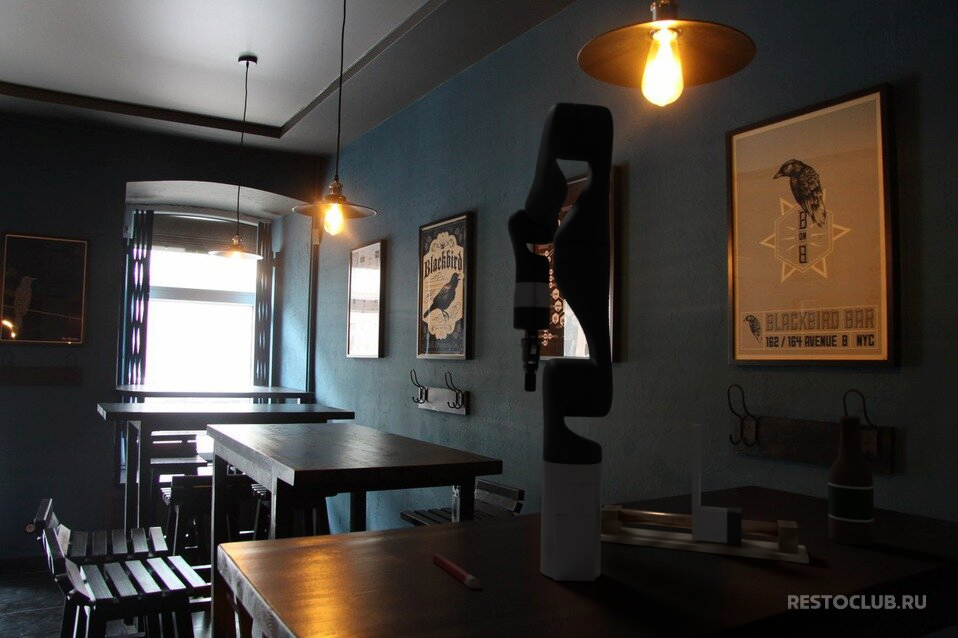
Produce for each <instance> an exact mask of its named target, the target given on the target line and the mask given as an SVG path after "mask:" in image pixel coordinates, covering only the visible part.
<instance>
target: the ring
mask: <svg viewBox="0 0 958 638" xmlns="http://www.w3.org/2000/svg"><path fill="white" fill-rule="evenodd" d="M726 508H727V544H729V545H738V546H742V535H743V534H742V520H743V519H742V517H743V516H742V515H743V513H742V507H735V506H733V507H732V506H727V507H726Z"/></svg>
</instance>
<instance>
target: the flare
mask: <svg viewBox="0 0 958 638" xmlns="http://www.w3.org/2000/svg"><path fill="white" fill-rule="evenodd" d="M432 562H433V563H434V564H435V565H438V566H439V567H440V568H441V569H443V570H444V571H446V572H447V573H448V574H450V575H451V576H453V577H454V578H455V579H457V580H459V581H460V582H461V583H462V584H464V585H465V586H466V587H468V589H471V590H476V589H481V586H482V582H481V580H479V579H478V578H477V577H475V576H474V575H471V573H469V572H467V571H466V570H464V569H463V568H461V567H460V566H459V565H457V564H455V563H454V562H452V561H451V560H449V558H447V557H446V556H443V554H441V553H440V552H439V553H438V552H437V553H435V554H434V555H433V556H432Z"/></svg>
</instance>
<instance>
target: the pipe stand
mask: <svg viewBox="0 0 958 638" xmlns="http://www.w3.org/2000/svg"><path fill="white" fill-rule="evenodd" d="M622 507H623V505H617V504H605V505H604V506H603V507H601V542H605V543H607V542H608V543H615V544H623V545H624V544H625V545H635V546H643V547H644V546H645V547H654V548H661V549H662V548H664V549H672V550H679V551H691V552H699V553H707V554H708V553H709V554H716V555H718V554H719V555H727V556H728V555H729V556H734V557H744V558H746V557H747V558H755V559H763V560H773V561H782V562H791V563H793V562H794V563H801V564H809V563H810V556H809V555H808V552H807V549H806V547H805V545H802V544H801V545H800V544H799V527H798V525H797V521H792V520H783V519H782V520H780V519H777V523H778V524H779V537H777V542H773V541H772V542H771V541H763V540H751V539H744V538H743V539H742V546H738V545H729V544H727V543H723V542H713V541H703V540H694V539H692V533H682V532H671V531H662V530H655V529H654V530H653V529H642V528H633V527H624V526H622V523H623V522H620V521H619V520H618V512H619V508H620V509H623V508H622Z"/></svg>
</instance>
